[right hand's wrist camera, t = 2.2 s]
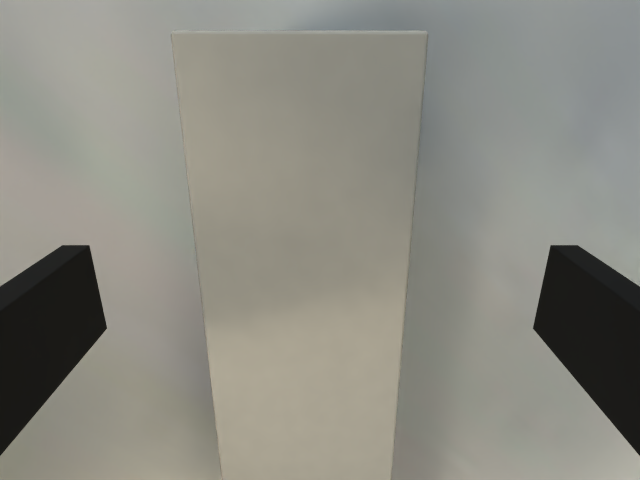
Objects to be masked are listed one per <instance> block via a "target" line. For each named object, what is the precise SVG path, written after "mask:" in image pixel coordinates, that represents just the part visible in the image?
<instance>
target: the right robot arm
mask: <svg viewBox="0 0 640 480" xmlns="http://www.w3.org/2000/svg"><path fill="white" fill-rule="evenodd" d="M106 329H107V326H106V322H105V317H104V312H103V308H102V303H101V298H100V293H99V289H98V284H97V279H96V275H95V270H94V265H93V260H92V256H91V251H90V246H89V245H62V246H61V247H59V248H58V249H56V250H55V251H53V252H52V253H50V254H49V255H47V256H46V257H44V258H43V259H41V260H40V261H38V262H37V263H35V264H34V265H32V266H31V267H29V268H28V269H26V270H25V271H23V272H22V273H20V274H19V275H17V276H16V277H14V278H13V279H11V280H10V281H8V282H7V283H5V284H4V285H2V286H1V287H0V455H1V454H2V453H3V452H4V451H5V449H6V448H7V447H8V446H9V445H10V444H11V442H12V441H13V440H14V439H15V438H16V436H17V435H18V434H19V433H20V432H21V430H22V429H23V428H24V427H25V426H26V424H27V423H28V422H29V421H30V420H31V418H32V417H33V416H34V415H35V414H36V412H37V411H38V410H39V409H40V408H41V406H42V405H43V404H44V403H45V402H46V401H47V399H48V398H49V397H50V396H51V395H52V393H53V392H54V391H55V390H56V389H57V387H58V386H59V385H60V384H61V383H62V381H63V380H64V379H65V378H66V377H67V375H68V374H69V373H70V372H71V371H72V369H73V368H74V367H75V366H76V365H77V364H78V362H79V361H80V360H81V359H82V358H83V356H84V355H85V354H86V353H87V352H88V350H89V349H90V348H91V347H92V346H93V344H94V343H95V342H96V341H97V340H98V338H99V337H100V336H101V335H102V334H103V332H104V331H105V330H106ZM533 329H534V330H535V331H536V332H537V334H538V335H539V336H540V337H541V338H542V340H543V341H544V342H545V343H546V344H547V346H548V347H549V348H550V349H551V350H552V352H553V353H554V354H555V355H556V356H557V358H558V359H559V360H560V361H561V362H562V364H563V365H564V366H565V367H566V368H567V369H568V371H569V372H570V373H571V374H572V375H573V377H574V378H575V379H576V380H577V381H578V383H579V384H580V385H581V386H582V387H583V389H584V390H585V391H586V392H587V393H588V395H589V396H590V397H591V398H592V399H593V401H594V402H595V403H596V404H597V405H598V406H599V408H600V409H601V410H602V411H603V412H604V414H605V415H606V416H607V417H608V418H609V420H610V421H611V422H612V423H613V424H614V426H615V427H616V428H617V429H618V430H619V432H620V433H621V434H622V435H623V436H624V438H625V439H626V440H627V441H628V442H629V444H630V445H631V446H632V447H633V448H634V449H635V451H636V452H637V453H638V454H639V455H640V287H639V286H638V285H636V284H635V283H633V282H632V281H630V280H629V279H627V278H626V277H624V276H623V275H621V274H620V273H618V272H617V271H615V270H614V269H612V268H611V267H609V266H608V265H606V264H605V263H603V262H602V261H600V260H599V259H597V258H596V257H594V256H593V255H591V254H590V253H588V252H587V251H585V250H584V249H582V248H581V247H579V246H578V245H551V246H550V251H549V256H548V260H547V265H546V270H545V275H544V279H543V284H542V289H541V293H540V298H539V303H538V308H537V312H536V317H535V322H534V326H533Z"/></svg>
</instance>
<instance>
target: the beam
mask: <svg viewBox="0 0 640 480" xmlns="http://www.w3.org/2000/svg"><path fill="white" fill-rule="evenodd" d="M171 40H172V49H173V58H174V66H175V75H176V84H177V93H178V101H179V110H180V119H181V127H182V136H183V145H184V154H185V162H186V171H187V180H188V188H189V197H190V206H191V215H192V223H193V232H194V241H195V249H196V258H197V267H198V276H199V284H200V293H201V302H202V310H203V319H204V328H205V337H206V345H207V354H208V363H209V371H210V380H211V389H212V398H213V406H214V415H215V424H216V432H217V441H218V450H219V459H220V467H221V476H222V480H391V477H392V465H393V453H394V441H395V429H396V417H397V405H398V393H399V381H400V369H401V357H402V345H403V333H404V321H405V309H406V297H407V285H408V273H409V261H410V249H411V237H412V225H413V213H414V201H415V189H416V177H417V165H418V153H419V141H420V129H421V117H422V105H423V93H424V81H425V69H426V57H427V45H428V33H427V32H426V31H373V30H174V31H172V33H171Z"/></svg>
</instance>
